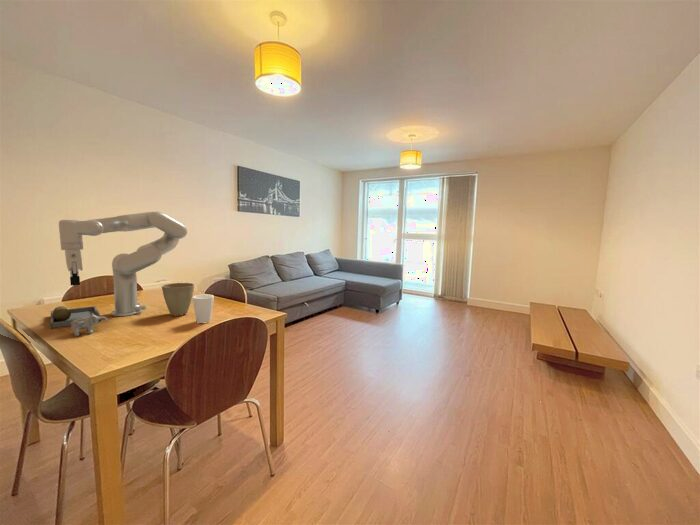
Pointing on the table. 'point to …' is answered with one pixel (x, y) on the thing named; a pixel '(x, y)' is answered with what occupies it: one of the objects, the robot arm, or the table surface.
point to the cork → (61, 314)
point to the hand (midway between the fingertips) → (75, 284)
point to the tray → (74, 316)
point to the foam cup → (203, 307)
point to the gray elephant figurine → (85, 323)
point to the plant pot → (178, 297)
